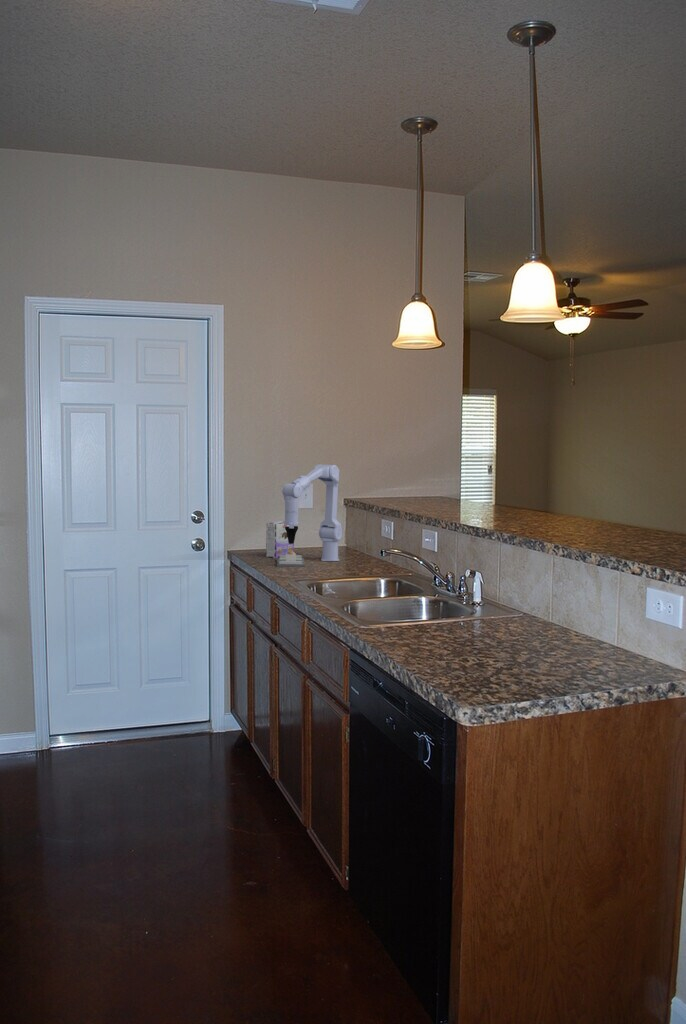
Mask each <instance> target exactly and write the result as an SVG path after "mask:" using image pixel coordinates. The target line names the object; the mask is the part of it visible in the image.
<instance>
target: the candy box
mask: <svg viewBox="0 0 686 1024" xmlns="http://www.w3.org/2000/svg"><path fill="white" fill-rule="evenodd" d="M282 522H285V519H284V520H279V521H278V520H277V521H276V520H275V521H270V522H268V521H267V522H266V536H265V537H266V542H265V543H266V546H265V547H266V549H265V550H266V551H265V553H266V554H265V557H266V558H271V559H278V557H279V558H280V555H286V553H288V552H294V553H295V543H294V544H289V542H288V536H287V532H286V530H285V527H289V525H286V524H282Z"/></svg>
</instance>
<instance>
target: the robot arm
mask: <svg viewBox="0 0 686 1024" xmlns="http://www.w3.org/2000/svg"><path fill="white" fill-rule="evenodd" d="M317 479H318V480H320V481H321V482H323V483H324V484H325V486H326V487H325V489H326V492H325V510H324V512H325V513H324V520H323V521H321V522H320V527H319V529H318V536H319V538H320V539H321V540H320V541H322V546H321V548H322V551H321V553H322V556H321V557H320V559H321V562H340V558H339V542H340V540H341V539H342V537H343V529H342V524H341V522H339V520H337V519H338V517H337V516H338V497H339V495H338V494H339V482H340V468H338V466H337V465H336V464H320V463H318V464H317V465H315V466H313V469H312V470H311V471H310V472H309V473H307V474H306V475H299V476H298V478H297V479H295V480H292V482H290V483H286V484H285V485H284V486H283V487H282V490H281V492H282V496H283V500H284V520H285V522H282V524H286V525H289V527H285V530H286V532H287V536H288V542H289V544H294V545H295V538H296V534H297V532H298V530H299V526H298V525H299V524H300V523H299V498H300V497H301V496H302V493H303V492H304V491H305V490H307V489H308V488H309V487H310V485H311V483H312V482H314V481H316V480H317Z"/></svg>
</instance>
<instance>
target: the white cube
mask: <svg viewBox="0 0 686 1024" xmlns="http://www.w3.org/2000/svg"><path fill="white" fill-rule="evenodd" d="M296 555H297V552H296V553H295V551H294V552H288V553H286V561H296Z"/></svg>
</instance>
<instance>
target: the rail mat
mask: <svg viewBox="0 0 686 1024" xmlns="http://www.w3.org/2000/svg"><path fill="white" fill-rule="evenodd" d="M276 559H277V560H276V561H277V562H276V567H302V566H305V565H306V563H305V558H304V557H303V555H299V554H296V561H286V555H280V557H279V558H276Z"/></svg>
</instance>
